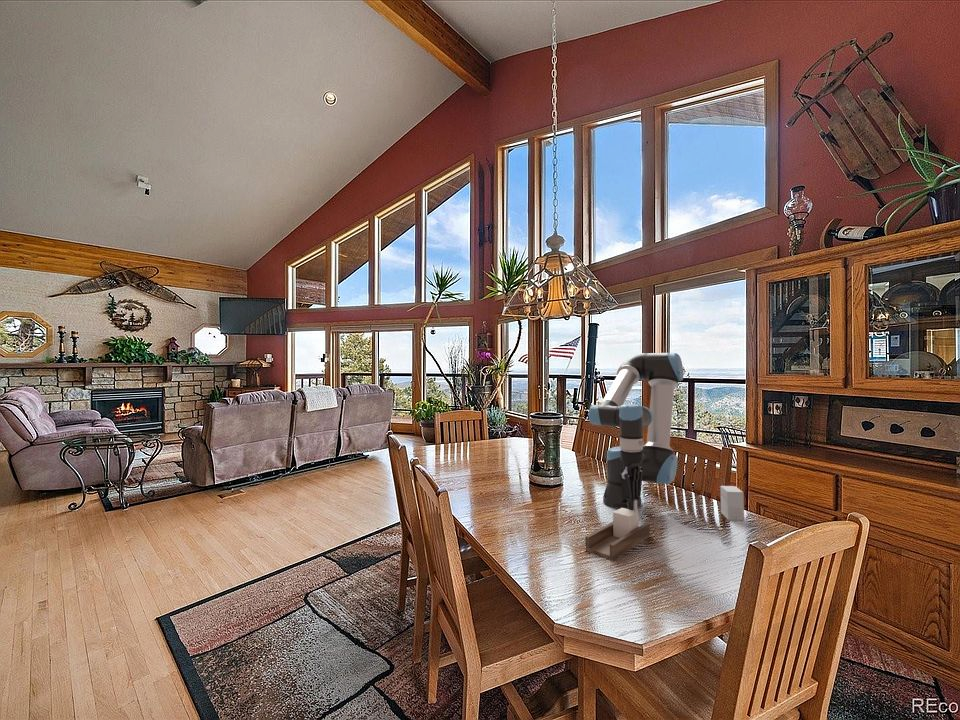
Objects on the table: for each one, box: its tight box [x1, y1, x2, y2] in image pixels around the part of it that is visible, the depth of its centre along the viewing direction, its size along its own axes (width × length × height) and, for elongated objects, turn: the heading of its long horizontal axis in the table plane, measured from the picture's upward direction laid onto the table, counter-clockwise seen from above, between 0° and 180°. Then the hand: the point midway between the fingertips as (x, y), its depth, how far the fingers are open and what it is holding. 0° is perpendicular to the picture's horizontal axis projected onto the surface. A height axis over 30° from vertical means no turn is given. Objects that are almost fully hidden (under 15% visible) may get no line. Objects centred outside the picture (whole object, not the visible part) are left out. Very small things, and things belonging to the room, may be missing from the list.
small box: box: [719, 485, 745, 521], centre depth 168 cm, size 8×6×10 cm
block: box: [612, 508, 640, 538], centre depth 151 cm, size 6×6×8 cm
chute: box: [584, 521, 651, 561], centre depth 147 cm, size 10×24×4 cm, turn 134°
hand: (632, 518), depth 154 cm, fingers closed
